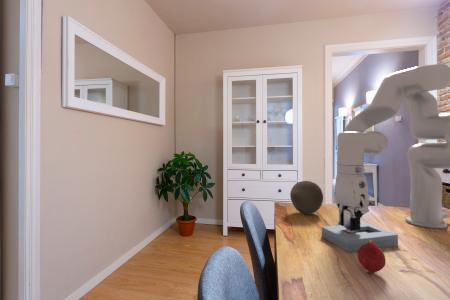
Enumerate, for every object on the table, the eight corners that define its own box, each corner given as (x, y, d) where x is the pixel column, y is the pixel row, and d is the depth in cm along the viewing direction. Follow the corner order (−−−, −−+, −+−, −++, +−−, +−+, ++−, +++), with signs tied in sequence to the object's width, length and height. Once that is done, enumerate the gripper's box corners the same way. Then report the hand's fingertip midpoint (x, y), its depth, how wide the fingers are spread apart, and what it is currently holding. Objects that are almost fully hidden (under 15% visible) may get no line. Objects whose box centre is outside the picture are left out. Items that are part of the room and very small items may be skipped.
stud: (350, 238, 78) (350, 208, 78) (360, 242, 74) (360, 211, 74) (340, 239, 77) (340, 209, 77) (349, 244, 73) (349, 212, 73)
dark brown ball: (288, 209, 115) (288, 178, 115) (318, 210, 113) (318, 179, 113) (292, 218, 101) (292, 183, 101) (327, 219, 99) (327, 183, 99)
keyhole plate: (366, 232, 84) (366, 222, 84) (397, 245, 73) (397, 234, 73) (321, 236, 80) (321, 226, 80) (348, 252, 69) (348, 240, 69)
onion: (386, 282, 53) (386, 247, 53) (356, 275, 56) (356, 241, 56) (384, 270, 58) (385, 238, 58) (358, 264, 61) (358, 234, 61)
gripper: (382, 172, 68) (382, 236, 69) (341, 167, 84) (341, 219, 85) (360, 173, 67) (360, 238, 67) (323, 168, 83) (323, 220, 83)
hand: (350, 227), depth 76 cm, fingers closed on stud, 3 cm apart
